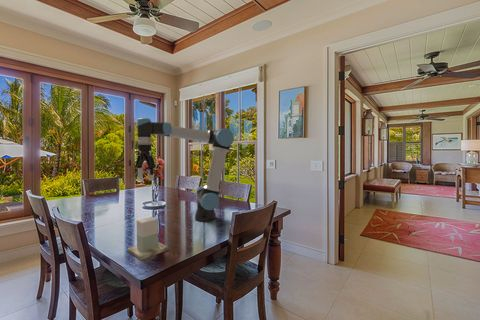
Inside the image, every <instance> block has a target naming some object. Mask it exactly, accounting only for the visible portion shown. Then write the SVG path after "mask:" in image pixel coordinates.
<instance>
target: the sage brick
mask: <svg viewBox="0 0 480 320" xmlns="http://www.w3.org/2000/svg"><path fill="white" fill-rule="evenodd" d="M158 242H159V232H158V233H156V234H153V235H150V236H146V237H141V236H139V235H137V234H136V245H137V249H139V250H140V251H142V252H144V251H147V250H150V249H153V248H156V247H158Z"/></svg>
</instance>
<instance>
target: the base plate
mask: <svg viewBox="0 0 480 320" xmlns="http://www.w3.org/2000/svg"><path fill="white" fill-rule="evenodd" d="M126 249H127V250H126V251H127V252H128V253H129V254H131V255H133V256H134V257H135V258H136V259H138V260H139V261H142V260H145V259H147V258H150V257H152V256H155V255H158V254H160V253H164V252H166V251H168V250H169V246H167V245H165V244H164V243H161V242H160V241H158V247H156V248H153V249H150V250H147V251H144V252H142V251H140V250H139V249H137V244H136V245H132V246H130V247H127V248H126Z"/></svg>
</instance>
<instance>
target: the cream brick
mask: <svg viewBox="0 0 480 320" xmlns="http://www.w3.org/2000/svg"><path fill="white" fill-rule="evenodd" d="M156 233H158V234H159V219H158V218H156V217H154V216H149V217H144V218H141V219H136V236H137V235H139V236H141V237H146V236H150V235H153V234H156Z"/></svg>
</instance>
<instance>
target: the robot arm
mask: <svg viewBox="0 0 480 320" xmlns="http://www.w3.org/2000/svg"><path fill="white" fill-rule="evenodd" d="M136 122H137V123H136V124H137V130H136V131H137V144H138V145H137V151H138V152H137V156H136V162H135V167H136V168H137V179H138V180H140V179H143V177H144V174H143V164H144V162H146V165H147V167H148V168H147V171H148V174H147V175H148V182H149V181H154V170H155V169H156V163H155V160H154V155H153V152H151V151H152V135H153V136H154V135H158V136H160V137H166V138H167V137H168V138H175V139H183V140H184V139H185V140H190V141H191V140H192V141H198V142H205V143H206V144H209V145H212V149H213V153H212V157H211V162H210V165H209V169H208V174H207V179H206V182H205V184H204V186H198V187H197V189H196V211H195V214H194V221H197V222H203V221H205V222H210V220H212V221H214V220H213V219H215V218H216V219H217V215H216V212H215V211H216V210H215V209H217V208H218V206H219V204H220V191H221V190H220V188H219V186H220V182H221V178H222V174H223V169H224V165H225V162H226V161H225V160H226V157H227V153H228V152H229V151H231V146H232V144H233V142H234V141H235V136H234V133H233V132H232V130H230V129H228V128H224V127H223V128H220V129H217V130H210V129H209V130H202V129H196V128H188V127H182V126H175V125H172V123H171V122H166V121H165V122H161V121H159V122H158V121H157V122H155V121H151V119H150V118H146V117H143V118H142V117H141V118H137V121H136ZM216 219H215V220H216Z"/></svg>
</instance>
